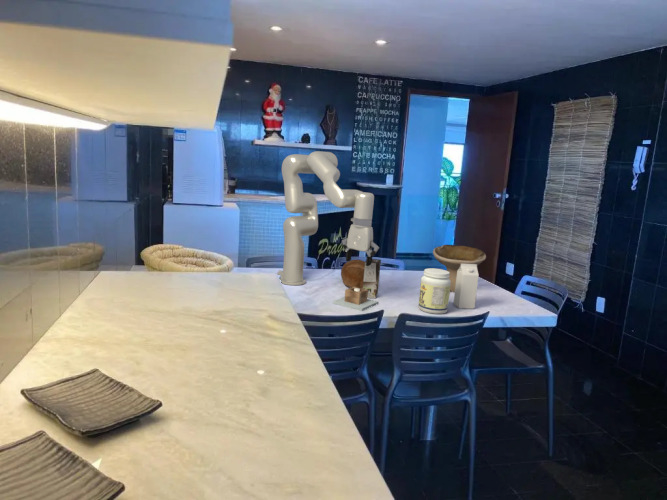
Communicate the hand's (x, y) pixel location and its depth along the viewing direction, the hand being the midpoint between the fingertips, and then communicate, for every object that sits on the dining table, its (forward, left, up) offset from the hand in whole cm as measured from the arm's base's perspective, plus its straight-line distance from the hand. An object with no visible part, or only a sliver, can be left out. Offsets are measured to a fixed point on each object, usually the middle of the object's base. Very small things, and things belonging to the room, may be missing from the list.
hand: (358, 263), depth 209 cm
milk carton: (+37, +32, -18) cm, 52 cm away
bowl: (+23, +60, -18) cm, 66 cm away
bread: (-17, +31, -18) cm, 40 cm away
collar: (0, 0, -17) cm, 16 cm away
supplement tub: (+29, +16, -18) cm, 37 cm away
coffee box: (-1, +16, -18) cm, 24 cm away
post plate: (+1, 0, -18) cm, 17 cm away
